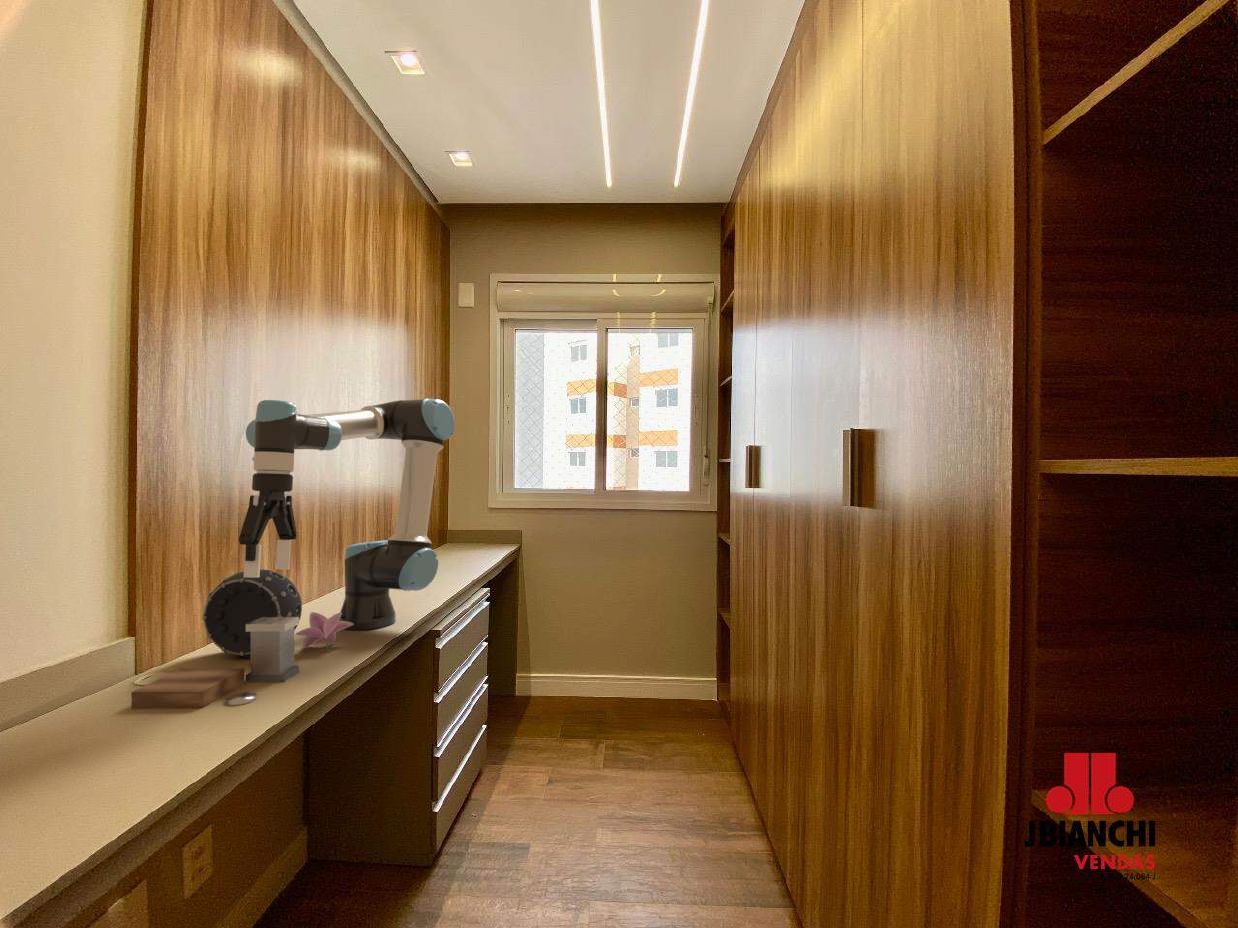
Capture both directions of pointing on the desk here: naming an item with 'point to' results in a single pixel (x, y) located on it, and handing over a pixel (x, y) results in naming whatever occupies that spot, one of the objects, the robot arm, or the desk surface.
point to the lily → (323, 628)
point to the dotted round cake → (247, 608)
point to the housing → (272, 649)
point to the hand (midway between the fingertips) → (267, 573)
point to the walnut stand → (188, 688)
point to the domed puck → (241, 698)
